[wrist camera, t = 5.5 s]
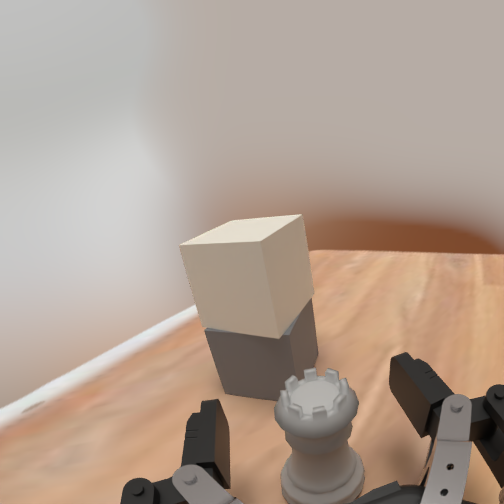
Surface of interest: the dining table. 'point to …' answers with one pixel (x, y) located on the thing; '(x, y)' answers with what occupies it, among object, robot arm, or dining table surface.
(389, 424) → the dining table surface
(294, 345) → the tower base
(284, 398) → the rook chess piece
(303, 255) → the tower top
